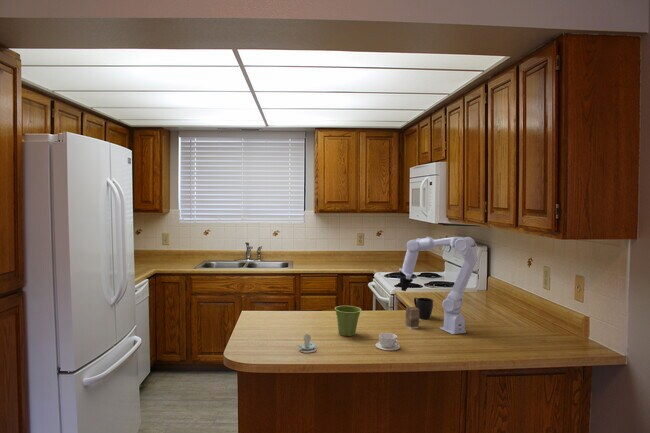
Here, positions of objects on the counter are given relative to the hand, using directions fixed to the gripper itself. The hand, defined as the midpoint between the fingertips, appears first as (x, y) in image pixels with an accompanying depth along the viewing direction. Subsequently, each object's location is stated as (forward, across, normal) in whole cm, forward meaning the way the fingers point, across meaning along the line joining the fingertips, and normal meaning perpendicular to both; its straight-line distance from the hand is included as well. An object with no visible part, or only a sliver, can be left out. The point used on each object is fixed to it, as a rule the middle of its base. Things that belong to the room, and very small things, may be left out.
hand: (402, 287), depth 209 cm
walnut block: (+13, +15, +6) cm, 21 cm away
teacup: (+12, +43, -8) cm, 46 cm away
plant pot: (+17, +30, -24) cm, 42 cm away
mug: (+14, -3, +14) cm, 20 cm away
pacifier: (+17, +53, -39) cm, 68 cm away
